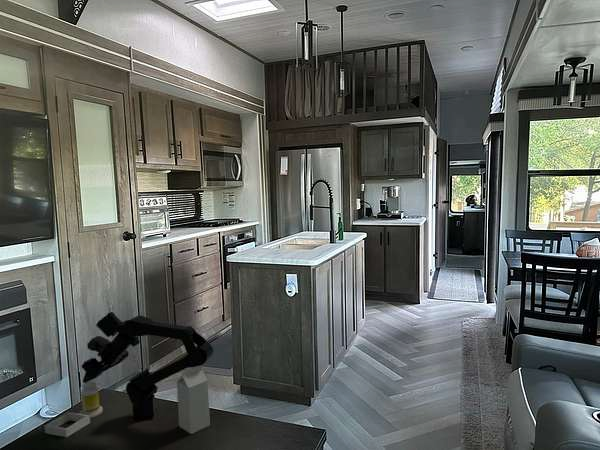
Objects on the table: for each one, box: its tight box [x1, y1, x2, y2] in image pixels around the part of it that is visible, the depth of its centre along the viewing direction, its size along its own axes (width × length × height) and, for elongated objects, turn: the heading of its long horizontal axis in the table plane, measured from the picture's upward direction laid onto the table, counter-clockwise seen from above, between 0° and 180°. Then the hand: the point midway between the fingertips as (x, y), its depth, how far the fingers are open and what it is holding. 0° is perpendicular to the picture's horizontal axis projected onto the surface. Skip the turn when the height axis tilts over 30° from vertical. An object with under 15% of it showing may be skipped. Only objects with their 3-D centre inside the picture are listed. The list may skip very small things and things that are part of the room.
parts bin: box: [44, 411, 91, 438], centre depth 137 cm, size 9×9×2 cm
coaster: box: [78, 405, 104, 419], centre depth 146 cm, size 8×8×1 cm
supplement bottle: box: [80, 380, 100, 414], centre depth 146 cm, size 5×5×10 cm
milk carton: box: [176, 365, 211, 435], centre depth 134 cm, size 7×7×19 cm
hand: (92, 376), depth 146 cm, fingers open, 9 cm apart
